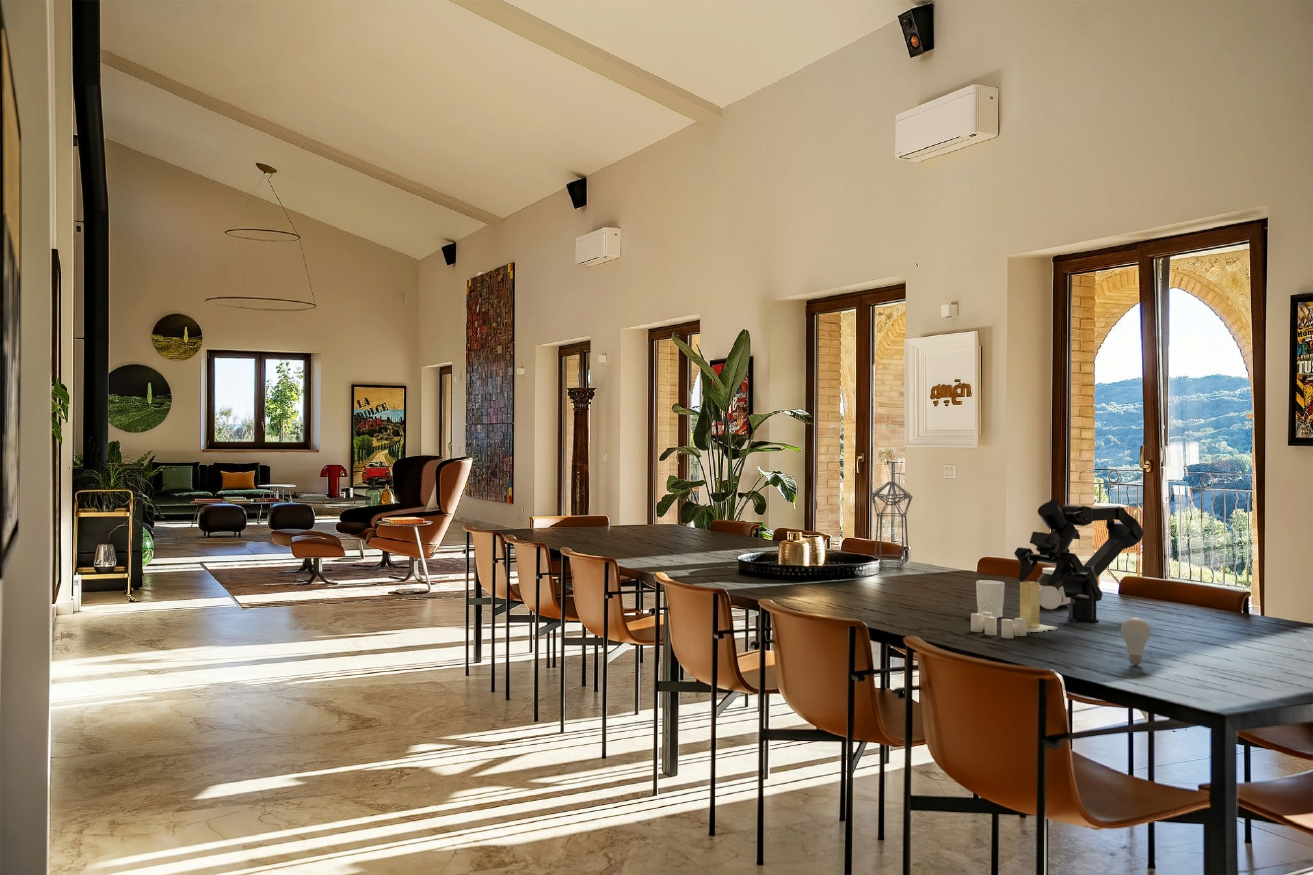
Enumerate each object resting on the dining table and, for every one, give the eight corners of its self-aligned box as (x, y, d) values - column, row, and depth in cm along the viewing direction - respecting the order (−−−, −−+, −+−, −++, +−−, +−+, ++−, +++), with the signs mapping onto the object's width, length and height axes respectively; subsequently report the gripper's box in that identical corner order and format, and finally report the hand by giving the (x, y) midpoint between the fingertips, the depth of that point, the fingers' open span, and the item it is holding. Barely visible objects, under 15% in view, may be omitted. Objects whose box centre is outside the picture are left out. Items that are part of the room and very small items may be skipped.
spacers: (985, 627, 276) (985, 611, 276) (1028, 636, 264) (1028, 619, 264) (965, 630, 272) (965, 613, 272) (1008, 639, 260) (1008, 621, 260)
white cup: (1006, 619, 290) (1006, 584, 290) (977, 617, 291) (977, 583, 291) (1002, 614, 298) (1002, 580, 298) (974, 613, 299) (974, 579, 299)
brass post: (1028, 624, 278) (1028, 581, 278) (1039, 626, 275) (1039, 582, 275) (1019, 625, 276) (1019, 582, 276) (1030, 627, 273) (1031, 583, 273)
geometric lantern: (910, 567, 407) (910, 480, 407) (912, 572, 391) (912, 482, 391) (870, 566, 410) (870, 480, 410) (871, 571, 394) (871, 481, 394)
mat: (1026, 623, 282) (1026, 621, 282) (1057, 629, 274) (1057, 627, 274) (1003, 627, 277) (1003, 624, 277) (1033, 633, 269) (1033, 630, 269)
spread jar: (1064, 604, 317) (1064, 567, 317) (1080, 610, 306) (1081, 572, 306) (1026, 604, 316) (1027, 567, 317) (1041, 610, 305) (1041, 571, 305)
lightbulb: (1115, 662, 233) (1115, 615, 233) (1140, 662, 233) (1141, 615, 233) (1130, 668, 227) (1130, 620, 227) (1155, 668, 227) (1156, 619, 227)
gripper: (1018, 518, 287) (992, 560, 281) (1076, 523, 271) (1050, 567, 265) (1036, 544, 291) (1011, 586, 285) (1094, 551, 276) (1069, 594, 270)
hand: (1034, 583), depth 276 cm, fingers open, 9 cm apart
